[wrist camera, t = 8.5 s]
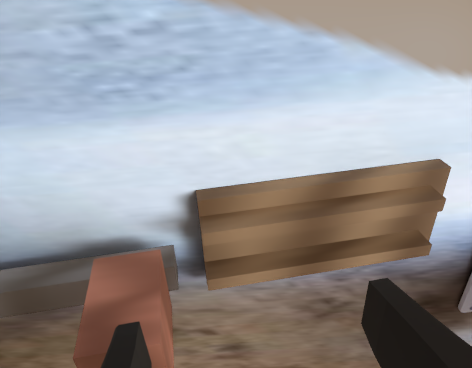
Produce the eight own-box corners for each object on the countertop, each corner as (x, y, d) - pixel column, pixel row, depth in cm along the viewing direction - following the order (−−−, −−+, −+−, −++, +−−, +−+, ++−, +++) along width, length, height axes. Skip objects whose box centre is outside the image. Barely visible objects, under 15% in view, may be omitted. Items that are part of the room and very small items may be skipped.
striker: (164, 181, 19) (167, 302, 12) (183, 292, 23) (192, 425, 17) (-172, 223, 17) (-375, 391, 10) (-84, 335, 21) (-190, 503, 15)
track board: (439, 159, 22) (468, 180, 20) (417, 239, 25) (440, 264, 23) (195, 190, 20) (199, 217, 18) (205, 272, 23) (210, 303, 21)
